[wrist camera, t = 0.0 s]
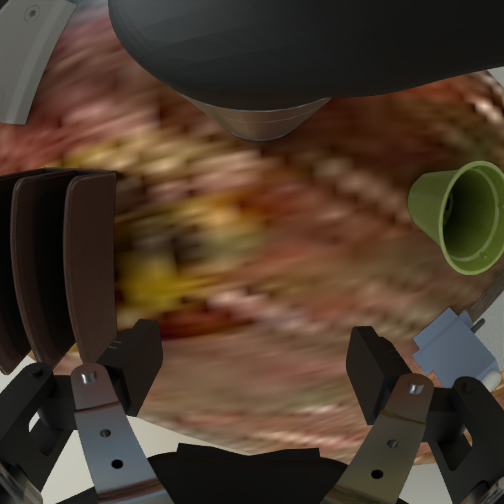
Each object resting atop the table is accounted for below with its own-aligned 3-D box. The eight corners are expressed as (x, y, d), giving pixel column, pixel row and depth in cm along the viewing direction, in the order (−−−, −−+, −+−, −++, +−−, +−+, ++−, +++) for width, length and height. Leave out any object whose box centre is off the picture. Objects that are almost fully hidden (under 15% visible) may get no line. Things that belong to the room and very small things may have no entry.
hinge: (24, 127, 25) (-44, 124, 15) (13, 121, 26) (-48, 118, 16) (78, 2, 20) (17, -22, 10) (62, 6, 21) (6, -14, 11)
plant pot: (465, 163, 25) (519, 170, 16) (457, 245, 28) (504, 273, 19) (395, 150, 25) (444, 151, 17) (388, 244, 28) (430, 277, 20)
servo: (418, 361, 32) (454, 426, 21) (405, 344, 32) (443, 412, 20) (473, 313, 30) (522, 366, 18) (463, 293, 29) (519, 346, 18)
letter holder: (57, 319, 32) (-4, 381, 19) (47, 166, 26) (-48, 184, 13) (119, 338, 33) (66, 418, 19) (119, 170, 26) (21, 188, 13)
